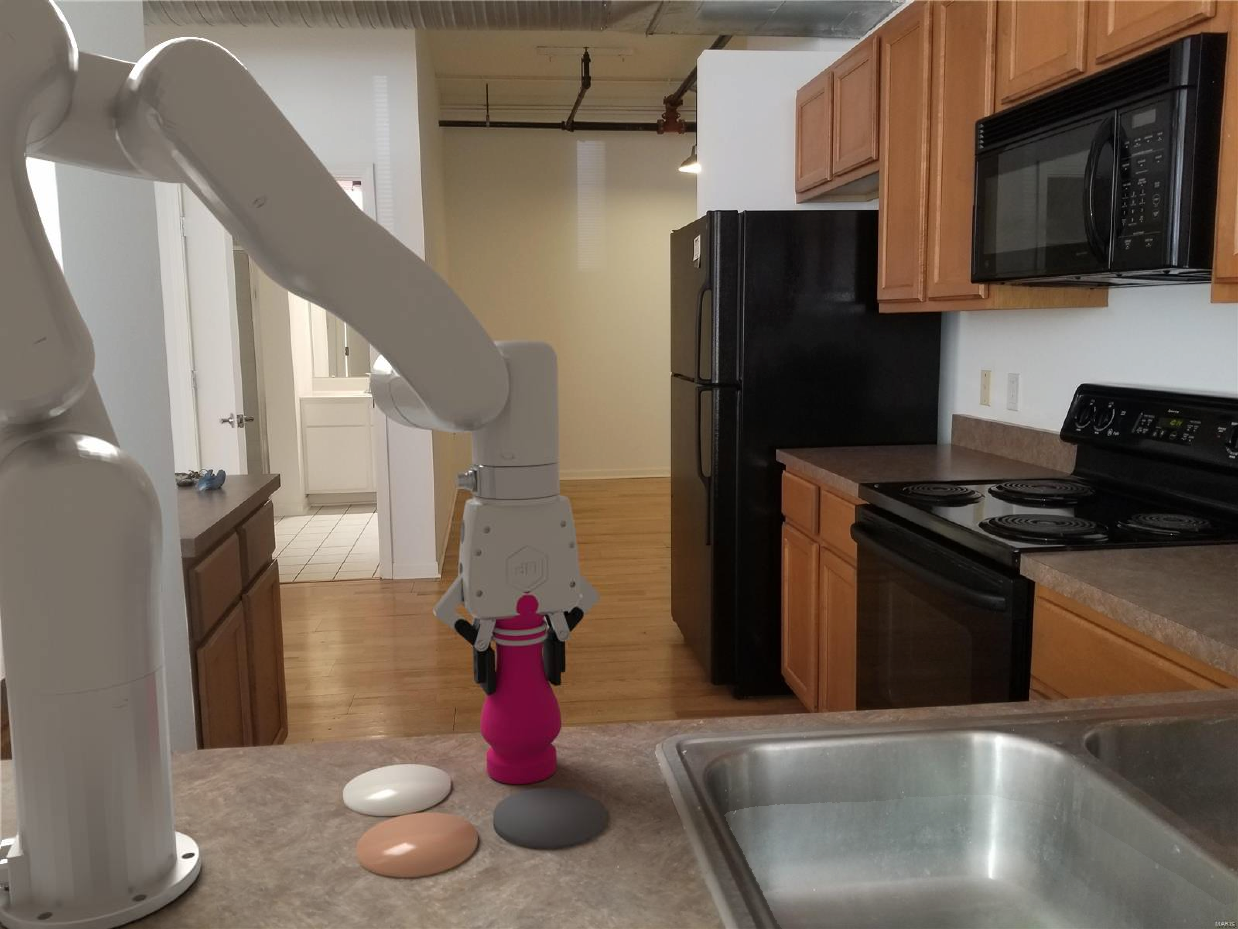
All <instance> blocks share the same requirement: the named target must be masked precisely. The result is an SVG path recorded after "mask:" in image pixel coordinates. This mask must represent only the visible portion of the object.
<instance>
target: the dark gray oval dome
mask: <svg viewBox="0 0 1238 929" xmlns="http://www.w3.org/2000/svg"><path fill="white" fill-rule="evenodd" d="M493 810H494V811H493V820H492V821H493V824H492V826H493V829H494V831H495V834H497V836H498V837H499V838H501V839H502V840H504V841H505V842H506V843H507V842H508V843H510V844H511V845H515V846H519V847H522V848H528V849H537V850H545V849H546V850H553V849H562V848H567V847H573V846H575V845H579V844H582V843H585V842H587V841H589V840H591V839H593V838H595V837H596V836H597V835H598V834H600V833H601V832H602V830H603V829H604V828H605V826H606V823H607V810H606V808H605V806H604V805H603V803H602V802H600V801H599V800H598V799H597V798H595V797H594V796H591V795H589V794H587V793H585V792H582V791H578V790H573V789H569V788H561V787H541V788H533V789H526V790H522V791H518V792H515V793H513V794H511V795H509V796H506V797H505V798H503V799H502V800H501V801H499V802H498V803H497V804H496V806H495V807H494V809H493Z"/></svg>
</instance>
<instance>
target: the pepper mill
mask: <svg viewBox="0 0 1238 929" xmlns="http://www.w3.org/2000/svg"><path fill="white" fill-rule="evenodd" d="M529 592H531V591H528V592H527V591H525V592H524V593H526V594H528V593H529ZM538 605H539V603H538V601H537V599H536V598H535V596H533V595H523V596H522V597H521V598H519V600H518V601H517V606H516V612H517V613H518V614H520V615H517V616H514V617H513V618H507V619H496V622H495V625H494V629H493V632H492V635H491V639H490V640H491V641H492V642H494V643H495V653H496V661H495V675H496V693H494V694H493V695H487V694H486V695H487V696H486V697H485V700H484V703H483V706H482V710H481V714H480V723H479V724H480V725H479V726H480V727H479V728H480V733H481V736H482V737H483V740H484V741H485V742H486V743H487V744H488V745H489V746H490V747H489V749H488V750H487V751H486V754H485V755H486V772H487V775H488V776H489V778H491V779H493V780H494V781H497V782H500V783H502V784H508V785H528V784H534V783H538V782H541V781H544V780H546V779H548V778H550V777H551V776H552V775H554V773H555V772H556V770H557V766H558V765H557V764H558V763H557V759H558V758H557V755H558V754H557V748H556V746H554V745H553V742H554V741H555V740H556V738H557V737H558V736H559V734H560V732H561V729H562V715H561V710H560V705H559V703H558V699H557V696H556V694H555V692H554V690H553V689H552V686H551V683H550V682H549V681H548V679H547V676H546V673H545V669H544V665H543V641H544V640H545V639H546V638H547V636H548V634H547V629H548V627H547V622H546V621H545V618H544V617H545V615H546V614H543V615H540V614H538V613H535V612H536V611H537V610H538Z"/></svg>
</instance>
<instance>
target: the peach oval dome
mask: <svg viewBox="0 0 1238 929" xmlns="http://www.w3.org/2000/svg"><path fill="white" fill-rule="evenodd" d="M478 836H479V835H478V831H477V829H476V827H475V825H473V824H472V822H471V821H468V820H467V819H466V818H463V817H460V816H458V815H455V814H450V813H445V812H414V813H409V814H404V815H398V816H396V817H395V816H394V817H392V818H389V819H386V820H384V821H382V822H379V823H378V824H376V825H374V826H372V827H370V828H369V829H368V830H367V831H365V832H364V833H363V834H362V835H361V836H360V838H359V839H358V841H357V843H356V849H355V850H356V851H355V852H356V858H357V861H358V863H359V864H360V865H361V867H363V868H365V869H366V870H368V871H370V872H372V873H373V874H377V875H380V876H384V877H389V878H390V877H392V878H418V877H419V878H420V877H425V876H430V875H435V874H438V873H442V872H444V871H447V870H449V869H451V868H454V867H456V866H458V865H460V864H462V863H464V861H466V860H467V859H468V858H470V856H471V855H473V853H474V852H475V850H476V848H477V846H478Z"/></svg>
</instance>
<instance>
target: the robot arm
mask: <svg viewBox="0 0 1238 929" xmlns="http://www.w3.org/2000/svg"><path fill="white" fill-rule="evenodd" d="M28 158H31V159H37V160H41V161H47V162H51V163H57V164H62V165H67V166H72V167H77V168H81V169H87V170H91V171H97V172H100V173H106V174H109V175H116V176H122V177H128V178H133V179H140V180H145V181H152V182H153V181H154V182H159V183H167V184H185V186H186V187H187V188H188V189H189V190H190V191H191V192H192V193H193V194H194V195H195V196H196V198H198V199H199V201H200V202H201V203H202V204H203V205H204V206H205V208H206V209H207V210H208V211H209V212H210V213H211V215H213V217H214V218H215V219H216V220H217V221H218V223H220V225H221V226H222V227H223V228H224V230H226V231H227V233H228V234H229V235H230V236H231V237H232V238H233V239H234V240H235V241H236V243H237V244H238V245H239V247H241V249H243V251H244V252H245V253H246V254H247V255H248V256H249V258H250V259H251V260H252V262H254V263H255V266H257V267H258V268H259V270H261V271H262V273H263V274H264V275H265V276H267V278H269V279H270V280H272V281H273V282H274V283H276V284H277V285H279V286H280V287H282V288H283V289H284V290H286V291H288V292H289V293H290V294H293V295H294V296H297V297H298V298H301V299H303V300H305V301H307V302H310V303H312V304H313V305H316V306H318V307H319V308H322V309H324V310H325V311H326V312H329V313H330V314H332V315H333V316H335V317H336V318H338V319H339V320H340V321H342V322H343V323H345V325H347V326H349V327H350V328H351V329H352V330H354V331H355V332H356V333H357V334H359V335H360V336H361V337H362V339H364V340H365V341H366V342H367V343H368V344H369V345H371V346H372V348H374V350H375V351H376V352H378V354H379V356H378V358H377V359H376V361H375V362H374V364H373V367H372V368H371V369H372V370H371V372H370V377H369V388H370V389H369V390H370V393H371V396H372V398H373V401H374V403H375V405H376V406H377V407H378V409H379V411H381V412H382V414H383V415H385V416H386V417H387V418H389V419H390V420H392V421H393V422H395V423H397V424H399V425H402V426H404V427H407V428H412V429H420V430H428V431H440V432H446V433H453V434H468V433H470V434H471V435H470V436H471V439H470V440H471V462H472V463H470V464H469V466H470V468H468V470H465V471H464V472H458V473H456V474H455V486H456V489H457V490H459V489H463V490H464V489H465V490H467V491H468V490H469V491H470V494H472V498H468V499H467V500H465V505H464V509H463V517H462V522H461V528H460V529H461V530H460V539H459V540H460V542H459V553H458V554H459V556H458V573H457V577H456V579H455V580H454V581H453V583H452V584H451V585H450V586H449V588H448V589H447V590H446V591H445V593H444V594H443V595H442V597H441V598H440V599H439V601H438V602H437V603H436V604H435V606H434V607H433V609H432V612H433V615H434V616H435V617H436V618H437V619H438V620H439V621H441V622H442V623H444V624H445V625H446V626H448V627H450V628H451V629H452V630H454V631H455V632H457V634H458V635H459V636H461V637H462V638H463V639H464V640H466V642H468V644H470V645H472V658H473V659H472V660H473V680H474V682H475V684H476V685H480V688H481V689H482V690H483V691H484V693H485V694H486V695H493V694H494V693H496V675H495V671H496V650H495V649H493V648H492V645H491V644H492V642H491V640H492V639H491V635H492V632H493V629H494V625H495V622H496V619H507V618H513V617H514V616H517V615H520V614H518V613H517V612H516V606H517V601H518V600H519V598H521V597H522V596H523V595H533V596H535V598H536V599H537V601H538V603H539V605H538V610H537V611H536V612H535V613H538V614H540V615H543V614H546V615H545V617H544V618H543V619H544V620H545V621H546V622H547V628H546V632H547V634H548V636H547V638H546V639H545V640H544V641H543V648H542V655H543V665H544V669H545V673H546V676H547V679H548V681H549V684H550V685H552V686H554V687H557V686H559V687H560V686H561V685H562V673H565V672H566V669H567V668H566V665H567V664H566V641H568V640H569V639H570V637H571V633H572V632H573V630H574V629H575V628H576V627H577V625H579V623H580V622H581V621H582V620H583V618H584V616H585V614H588V612H589V611H591V609H592V608H593V607H595V606H596V604H597V603H598V602H599V601H600V599H601V596H600V593H599V592H598V591H597V590H596V589H595V587H593V586H592V584H591V583H590V582H589V581H588V580H587V579H586V578H585V577H584V575H583V574H582V573H581V570H580V560H579V551H578V541H577V536H576V528H575V527H576V526H575V520H574V516H573V509H572V505H571V501H570V498H569V496H564V495H560V494H561V493H560V446H559V445H560V438H559V437H560V436H559V434H560V433H559V432H560V431H559V428H560V427H559V426H560V425H559V424H560V423H559V375H558V374H559V372H558V368H559V366H558V365H559V364H558V357H557V353H556V350H555V349H554V347H553V346H552V345H551V344H550V343H548V342H545V341H540V340H529V339H528V340H526V339H525V340H521V339H519V340H518V339H515V340H514V339H513V340H512V339H509V340H508V339H506V340H493V338H492V337H491V336H490V334H489V333H488V332H487V330H486V329H485V328H484V327H483V325H482V324H481V323H480V321H479V320H478V319H477V317H476V316H475V315H474V314H473V312H472V311H471V309H469V307H468V306H467V304H466V303H465V302H464V301H463V299H461V297H460V295H458V293H457V292H456V291H455V290H454V289H453V287H452V286H450V285H449V283H448V282H447V281H446V280H445V279H444V278H443V277H442V276H441V275H440V274H439V273H438V272H436V271H435V269H434V268H432V266H430V265H429V264H428V263H427V262H426V261H425V260H423V259H422V257H420V256H419V255H418V254H416V253H415V252H414V251H412V250H411V249H410V248H408V246H406V245H405V244H404V243H402V242H401V241H400V240H399V239H398V238H396V236H394V235H393V234H392V233H391V232H390V231H389V230H387V229H386V228H385V227H384V226H382V225H381V224H380V223H378V222H377V221H376V220H374V219H373V218H371V217H370V216H369V215H368V214H367V213H365V212H364V211H363V210H362V209H361V208H360V207H359V206H358V205H357V204H356V203H355V202H354V200H353V199H352V198H351V196H349V195H348V193H347V192H346V191H345V189H344V188H343V187H342V186H341V185H340V184H339V181H337V180H336V179H335V177H334V176H333V175H332V173H331V172H330V171H329V170H328V169H327V167H326V166H325V164H324V163H323V162H322V161H321V160H320V159H319V158H318V156H317V155H316V154H315V152H314V151H313V150H312V149H311V147H310V146H309V144H307V142H306V141H305V140H304V138H303V137H302V136H301V134H299V132H298V131H297V129H295V127H294V125H292V123H291V122H290V121H289V119H288V118H287V117H286V116H285V115H284V113H283V112H282V111H281V110H280V108H279V107H278V106H277V104H276V103H275V102H274V101H273V99H272V98H271V97H270V96H269V94H268V93H267V92H266V91H265V90H264V88H263V87H262V86H261V85H260V83H259V82H258V81H257V79H256V78H255V77H254V76H253V74H252V73H250V71H249V70H248V69H247V68H246V67H245V65H244V64H243V63H242V62H240V60H239V59H238V58H237V57H236V56H235V55H234V54H232V53H231V52H230V51H229V50H227V49H226V48H225V47H223V46H221V45H220V44H218V43H216V42H214V41H211V40H209V39H206V38H199V37H194V36H191V37H188V36H187V37H178V38H173V39H170V40H167V41H165V42H163V43H160V44H159V45H156V46H155V47H154V48H152V49H151V50H149V51H148V52H147V53H146V54H144V56H142V57H141V58H140V59H139V60H138V62H132V61H131V62H130V61H126V60H122V59H117V58H112V57H110V56H105V55H101V54H97V53H94V52H90V51H86V50H82V49H78V48H77V42H76V40H75V37H74V35H73V31H72V29H71V27H70V25H69V24H68V22H67V20H66V18H65V16H64V15H63V13H62V11H61V9H60V8H59V7H58V6H57V5H56V3H55V2H54V1H53V0H0V630H1V642H2V655H3V656H2V658H3V665H4V666H3V667H4V668H3V669H4V678H5V679H4V680H5V681H4V682H5V686H6V698H7V708H8V710H7V711H8V721H9V722H8V723H9V734H10V736H9V737H10V745H11V758H12V771H13V774H12V775H13V783H14V784H13V785H14V786H13V787H14V796H15V797H14V798H15V809H16V820H17V821H16V822H17V823H16V824H17V833H16V835H12V836H8V837H7V836H5V837H3V838H2V841H1V843H0V923H1V924H2V926H4V927H6V928H7V929H113V928H117V927H120V926H123V925H126V924H128V923H131V922H133V921H136V920H139V919H141V918H144V917H145V916H148V915H150V914H151V913H154V912H156V911H158V910H160V909H162V908H163V907H166V905H168V904H170V903H171V902H173V901H175V899H177V898H178V897H180V896H181V895H182V894H183V893H184V892H186V890H188V889H189V887H191V885H193V883H194V882H195V881H196V879H197V877H198V875H199V874H200V872H201V866H202V860H201V858H202V857H201V849H200V847H199V845H198V843H197V841H195V840H194V839H193V838H192V837H190V836H189V835H187V834H184V833H181V832H179V831H176V819H175V818H176V817H175V804H174V788H173V774H172V773H173V772H172V755H171V739H170V738H171V737H170V724H169V723H170V722H169V720H170V719H169V707H168V706H169V704H168V690H167V674H166V660H165V646H164V645H165V644H164V631H163V608H162V607H163V606H162V605H163V604H162V574H163V547H164V546H163V543H164V540H163V539H164V535H163V534H164V530H163V529H164V528H163V516H162V508H161V505H160V500H159V496H158V493H157V490H156V488H155V486H154V483H153V482H152V480H151V478H150V477H149V475H148V473H147V472H146V470H145V469H144V467H143V466H142V465H141V464H140V463H139V462H138V461H137V460H136V459H135V458H134V457H132V455H130V454H129V453H128V452H126V451H125V450H123V449H122V448H121V446H120V443H119V440H118V438H117V435H116V433H115V430H114V428H113V427H114V426H113V424H112V422H111V419H110V416H109V415H108V411H107V409H106V407H105V403H104V400H103V398H102V396H101V393H100V390H99V387H98V385H97V383H96V379H95V377H94V372H95V362H96V361H95V360H96V351H95V347H94V346H95V345H94V339H93V338H92V336H91V335H92V334H91V333H90V330H89V327H88V326H87V324H86V322H85V320H84V318H83V316H82V314H81V312H80V310H79V308H78V306H77V304H76V301H75V299H74V296H73V294H72V293H71V289H70V287H69V285H68V283H67V280H66V277H65V274H64V271H63V269H62V267H61V264H60V262H59V259H58V257H57V254H56V251H55V249H54V247H53V243H52V242H51V238H50V236H49V234H48V229H47V227H46V223H45V220H44V217H43V214H42V210H41V207H40V205H39V201H38V198H37V196H36V193H35V190H34V188H33V185H32V182H31V177H30V173H29V166H28V165H29V164H28ZM525 591H527V592H528V591H531V592H529V593H528V594H526V593H524V592H525ZM459 604H461V605H462V606H463V607H465V609H466V611H467V613H469V614H470V616H472V617H473V618H472V622H471V623H470V622H469V621H468V620H467V619H466V618H464V617H463V616H462V615H460V614H458V613H457V612H456V609H457V607H458V606H459Z"/></svg>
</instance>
